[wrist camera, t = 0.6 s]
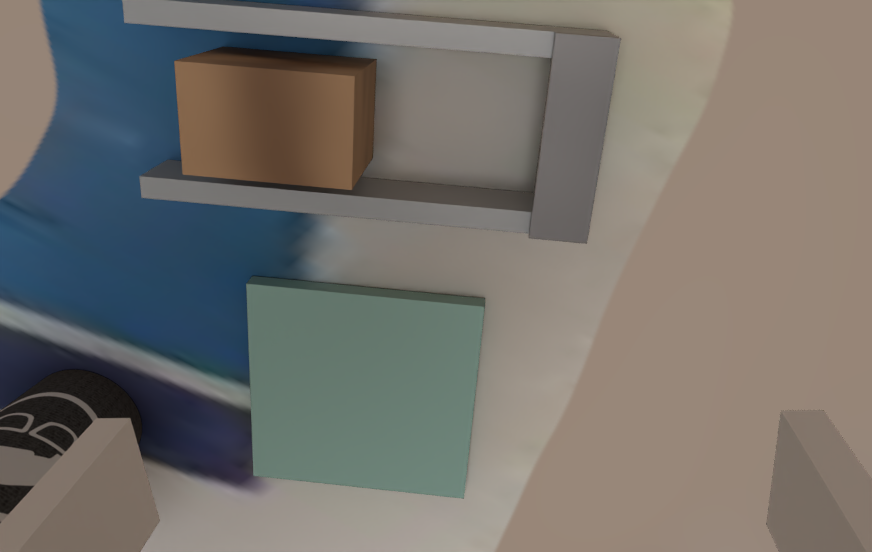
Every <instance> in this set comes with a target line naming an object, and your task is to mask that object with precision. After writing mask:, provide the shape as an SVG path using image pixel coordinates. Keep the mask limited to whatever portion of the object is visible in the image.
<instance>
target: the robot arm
mask: <svg viewBox="0 0 872 552" xmlns="http://www.w3.org/2000/svg"><path fill="white" fill-rule="evenodd" d="M159 521H160V519H159V515H158V512H157V509H156V505H155V502H154V498H153V495H152V491H151V488H150V484H149V481H148V478H147V474H146V471H145V467H144V464H143V460H142V457H141V453H140V450H139V447H138V443H137V440H136V436H135V433H134V429H133V426H132V422H131V419H130V418H96V419H95V420H94V421H93V423H92V424H91V425H90V426H89V427H88V428H87V429H86V430H85V431H84V432H83V434H82V435H81V436H80V437H79V438H78V439H77V440H76V441H75V442H74V443H73V444H72V446H71V447H70V448H69V449H68V450H67V451H66V452H65V453H64V454H63V455H62V456H61V458H60V459H59V460H58V461H57V462H56V463H55V464H54V465H53V466H52V467H51V468H50V470H49V471H48V472H47V473H46V474H45V475H44V476H43V477H42V478H41V479H40V481H39V482H38V483H37V484H36V485H35V486H34V487H33V488H32V489H31V490H30V491H29V493H28V494H27V495H26V496H25V497H24V498H23V499H22V500H21V501H20V502H19V503H18V505H17V506H16V507H15V508H14V509H13V510H12V511H11V512H10V513H9V514H8V515H7V517H6V518H5V519H4V520H3V521H2V522H1V523H0V552H140V551H141V549H142V548H143V546H144V545H145V543H146V541H147V540H148V538H149V537H150V535H151V534H152V532H153V530H154V529H155V527H156V526H157V524H158V523H159ZM766 525H767V527H768V529H769V531H770V533H771V536H772V538H773V540H774V542H775V544H776V546H777V549H778V551H779V552H872V479H871V477H870V476H869V474H868V473H867V471H866V470H865V469H864V467H863V466H862V464H861V463H860V461H859V460H858V459H857V457H856V456H855V454H854V453H853V451H852V450H851V449H850V447H849V446H848V444H847V443H846V441H845V440H844V439H843V437H842V436H841V434H840V433H839V431H838V430H837V429H836V427H835V426H834V424H833V423H832V422H831V420H830V419H829V417H828V416H827V414H826V413H825V412H824V410H797V411H796V410H795V411H794V410H789V411H788V410H787V411H781V414H780V421H779V429H778V437H777V445H776V453H775V460H774V468H773V476H772V484H771V491H770V500H769V507H768V515H767V523H766Z"/></svg>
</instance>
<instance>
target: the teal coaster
mask: <svg viewBox="0 0 872 552" xmlns="http://www.w3.org/2000/svg"><path fill="white" fill-rule="evenodd" d="M246 290H247V316H248V342H249V369H250V395H251V421H252V448H253V474H254V476H260V477H270V478H279V479H288V480H297V481H306V482H316V483H325V484H334V485H343V486H353V487H362V488H371V489H380V490H390V491H399V492H408V493H417V494H426V495H436V496H445V497H454V498H463V499H464V492H465V483H466V474H467V465H468V455H469V446H470V437H471V428H472V419H473V410H474V401H475V391H476V382H477V373H478V364H479V355H480V346H481V337H482V327H483V318H484V309H485V298H475V297H465V296H454V295H444V294H434V293H423V292H413V291H403V290H392V289H382V288H372V287H361V286H351V285H341V284H330V283H320V282H310V281H299V280H289V279H279V278H268V277H258V276H252V277H251V278H250V280H249V281H248V282H247V284H246Z"/></svg>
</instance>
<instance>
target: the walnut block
mask: <svg viewBox="0 0 872 552" xmlns="http://www.w3.org/2000/svg"><path fill="white" fill-rule="evenodd" d="M174 63H175V76H176V90H177V104H178V118H179V132H180V145H181V159H182V173H183V175H193V176H204V177H215V178H226V179H236V180H247V181H258V182H269V183H280V184H291V185H302V186H313V187H324V188H335V189H346V190H352V189H353V187H354V186H355V184H356V183H357V181H358V180H359V178H360V177H361V175H362V174H363V172H364V170H365V169H366V167H367V166H368V164H369V163H370V161H371V160H372V158H373V139H374V112H375V85H376V59H366V58H354V57H342V56H330V55H318V54H306V53H294V52H282V51H270V50H258V49H246V48H234V47H220V48H217V49H213V50H210V51H207V52H203V53H200V54H196V55H193V56H190V57H186V58H183V59H179V60H176V61H174Z"/></svg>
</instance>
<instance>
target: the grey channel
mask: <svg viewBox="0 0 872 552" xmlns="http://www.w3.org/2000/svg"><path fill="white" fill-rule="evenodd" d="M122 1H123V11H124V21H125V23H134V24H146V25H158V26H170V27H182V28H194V29H206V30H218V31H230V32H242V33H255V34H267V35H279V36H291V37H303V38H315V39H327V40H339V41H351V42H363V43H375V44H388V45H400V46H412V47H424V48H436V49H448V50H460V51H472V52H484V53H496V54H509V55H521V56H533V57H545V58H551V65H550V73H549V81H548V88H547V96H546V103H545V111H544V119H543V126H542V134H541V142H540V149H539V157H538V165H537V172H536V180H535V188H534V193H530V192H519V191H508V190H497V189H486V188H475V187H464V186H452V185H441V184H430V183H419V182H408V181H397V180H386V179H375V178H364V177H360V178H359V180H358V181H357V183H356V184H355V186H354V187H353V189H352V190H346V189H335V188H324V187H313V186H302V185H291V184H280V183H269V182H258V181H247V180H236V179H226V178H215V177H204V176H193V175H183V173H182V161H176V160H166V161H165V162H163V163H161V164H159V165H158V166H156V167H154V168H153V169H151V170H149V171H148V172H146V173H144V174H143V175H141V176H140V186H141V197H142V198H150V199H161V200H172V201H183V202H193V203H204V204H215V205H226V206H236V207H247V208H258V209H269V210H280V211H290V212H301V213H312V214H323V215H333V216H344V217H355V218H366V219H376V220H387V221H398V222H409V223H420V224H430V225H441V226H452V227H463V228H473V229H484V230H495V231H506V232H517V233H527V234H529V238H531V239H542V240H553V241H563V242H574V243H585V244H587V239H588V233H589V227H590V221H591V215H592V209H593V203H594V197H595V191H596V185H597V179H598V173H599V167H600V161H601V155H602V149H603V143H604V137H605V131H606V125H607V119H608V113H609V107H610V101H611V95H612V89H613V83H614V77H615V71H616V65H617V59H618V53H619V47H620V41H621V38H619V37H618V36H616V35H614V34H612V33H611V32H609V31H604V30H592V29H580V28H567V27H555V26H542V25H530V24H518V23H505V22H493V21H481V20H468V19H456V18H443V17H431V16H419V15H406V14H394V13H382V12H369V11H357V10H344V9H332V8H320V7H307V6H295V5H283V4H270V3H258V2H246V1H233V0H122Z"/></svg>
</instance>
